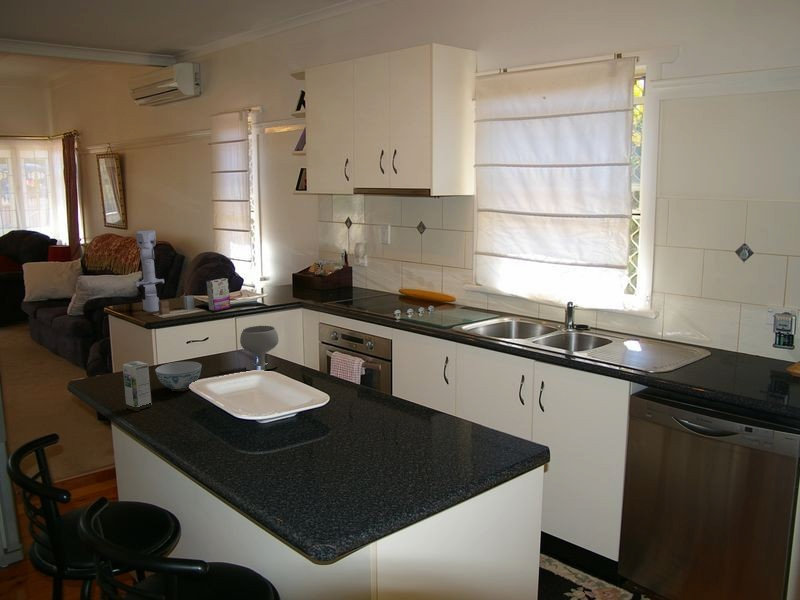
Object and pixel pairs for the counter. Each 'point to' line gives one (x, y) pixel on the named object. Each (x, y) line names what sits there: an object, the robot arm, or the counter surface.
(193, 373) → the chinaware
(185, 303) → the slate blue block
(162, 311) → the walnut block
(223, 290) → the candy bar box
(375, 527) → the counter surface
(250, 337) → the chalice
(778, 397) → the counter surface
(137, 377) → the syrup box
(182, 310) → the birch board
